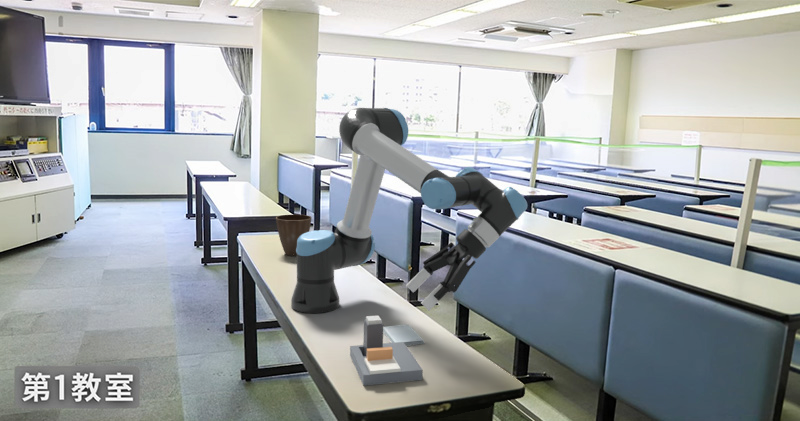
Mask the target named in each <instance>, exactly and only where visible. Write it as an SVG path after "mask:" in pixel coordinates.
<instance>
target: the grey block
mask: <svg viewBox="0 0 800 421" xmlns="http://www.w3.org/2000/svg"><path fill="white" fill-rule="evenodd" d="M383 327H384V324H383V322H382V318H381V317H380V315H368V316H365V319H363V344H362V345H363V357H365V356H366V354H367V349H369V348H381V347H383V343H384V332H383Z"/></svg>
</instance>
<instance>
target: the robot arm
mask: <svg viewBox="0 0 800 421" xmlns="http://www.w3.org/2000/svg"><path fill="white" fill-rule="evenodd" d="M339 122H340V123H339V136H340V138H341V141H342V142H343V144H344V145H345V146H346V148H348V149H349V150H351V151H352V152H354V153H355V154H356V155H358V156H359V158H358V162H357V165H356V166H357V167H356V170H355V174H354V177H353V181H352V185H351V188H350V193H349V197H348V200H347V204H346V208H345V212H344V214H343V215H344V216H343V219H342V220H339V221H338V222H336V223H337V224H336V227H335V231H334V232H333V231H332V230H329V229H328V230H327V229H319V230H311V231H309V232H307V233H304V234H302V235H301V236H300V237H299V238H298V240H297V248H296V253H297V256H296V284H295V287H294V290H293V293H292V296H291V300H290V302H291V308H292V309H293V310H295V311H297V312H300V313H307V314H321V313H322V314H323V313H328V312H333V311H334V310H337V309H338V308H339V306H340V296H339V293H338V289H337V286H336V284H335V271H336V270H341V269H346V268H351V267H358V266H360V265H362V264H365V263H366V262H368V261H369V260H370V259H372V257H373V255H374V253H375V248H376V246H375V245H376V244H375V242H374V241H375V238H374V235H373V234H372V232H373V231H372V230H371V228H370V224H371V220H372V217H373V213H374V210H375V205H376V202H377V199H378V195H379V192H380V188H381V184H382V182H383V178H384V175H385V171H388V172H389V173H391V175H393V176H394V177H396V178H398V179H399V180H401V181H402V183H403V182H404V184H407V185H408V186H409V187H411V188H412V189H413V190H415V191H416V192H418V194H420V197H421V200H422V202H423V203H424V205H425V206H426V207H427V208H429V209H430V210H431V209H432V210H446V209H449V208H455V207H463V206H469V205H473V206H474V207H475V208H476V209H477V210H479V211H480V214H478V216H477V217H474V218H473V221H472V222H470V224H469V225H467V229H466V228H464V229H463V230H462V231H461V232H460V233H459V234H458V235H457V236H456V238H455V240H456V242H457V244H456V245H455V244H454V243H453V242H450V243H447V245H446V246H445V247H444V248H442V249H440V250H439V251H438V252H435V254H433V255H431V256H429V257H428V258H427V259H425V260H424V261H423V263H422V264H423V266H422V269H420V271H419V272H417V273H416V275H415V276H413V277H412V278H411V279H410V281H408V282H407V283H406V284H405V286H406V287H407V288H408V289H409V290H410V291H411V292H412V293H414V292H416V291H417V290H418V289H419V287H421V286H422V285H423V284H424V283H425V282H426V280H428V279H429V278H430V277H431V276H432V275H433V274H434V272H436V271H438V270H440V269H442V268H444V267H447V266H450V267H449V269H448V271H447V273H446V275H445V278H444V280H443V281H441V282H440V283H439V284H438V285H437V286H436V287H435V288H434V289H433V290H432V291H431V292H430V293H429V294H428V295H427V296H426V297H425V298H424V299H423V300H422V301H421V302H420V304H422V306H423V307H424V308H425V309H426V310H427V311H428V312H429V311H431V309H432V308H434V307H435V305H437V303H438V302H439V301H441V299H443V298H444V297H445V295H447V293H450V292H452V293H453V294H455V293H456V292H457V291H458V289H459V288H460V286H461V284H462V283H463V281H464V279H465V278H466V276H467V275H468V273H469V272H470V270H471V268H473V267H474V265H475V264H476V259H479V258H480V257H481V256H482V255H483V254H484V253H485V252H486V250H487V248H490V247H491V246H492V245H493V244H494V243H495V242H496V241H497V240H498V239H499V238H500V237H501V236H502V234H504V232H506V231H507V230H508V229H509V228H510V227H511V226H513V224H514V223H515V222H516V221H518V220H519V219H520V217H521V216H522V214H524V213H525V212H526V210H527V209H528V206H529V205H528V202H527V200H526V199H525V197H524V195H522V194H521V193H520V192H519V191H518V190H517V189H515V188H514V187H512V186H508V187H506V188H504V189H503V190H502V189H500V188H499V187H497V185H495V184H494V183H493V182H492V181H490V180H489V179H488V178H487V177H486V176H484V174H483V173H481V172H480V171H478V170H477V169H475V168H474V167H471V166H468V167H465V168H464V169H461V170H460V171H458V173H456V175H455V176H448V175H447V174H446V173H444V172H442V171H440V170H439V169H438V168H436V167H435V166H433V165H432V164H430V163H428V162H427V161H425V160H424V159H422V158H421V157H419V156H417V155H416V154H415V153H413V152H411V151H410V150H408V149H407V148H406V147H404V146H403V145H405V143H406V142H407V140H408V136H409V125H408V122H407V121H406V118H405V116H404V114H402V112H401V111H399V110H397V109H394V108H388V107H382V108H381V107H380V108H379V107H378V108H377V107H355V108H353V109H350V110H349V111H347V112H346V113H345V114H344V115H343V117H342V118H341V121H339ZM474 259H475V260H474Z"/></svg>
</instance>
